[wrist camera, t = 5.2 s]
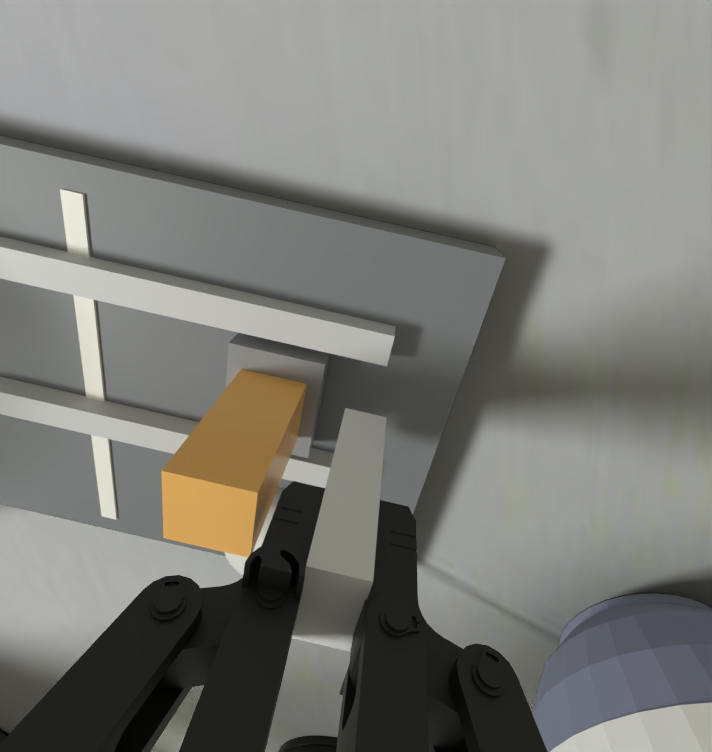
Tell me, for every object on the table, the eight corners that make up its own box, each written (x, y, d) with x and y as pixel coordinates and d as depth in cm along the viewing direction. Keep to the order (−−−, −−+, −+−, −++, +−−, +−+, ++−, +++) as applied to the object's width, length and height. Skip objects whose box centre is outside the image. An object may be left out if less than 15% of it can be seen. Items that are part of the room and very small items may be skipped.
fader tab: (232, 423, 18) (145, 556, 12) (239, 331, 16) (138, 435, 10) (313, 442, 18) (266, 583, 12) (329, 352, 16) (283, 469, 10)
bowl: (783, 513, 20) (1059, 775, 11) (811, 694, 26) (1009, 957, 17) (462, 588, 25) (490, 812, 16) (545, 726, 30) (598, 944, 22)
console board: (15, 475, 24) (-55, 532, 21) (-73, 118, 16) (-218, 107, 12) (386, 561, 24) (382, 633, 21) (494, 247, 16) (521, 274, 12)
